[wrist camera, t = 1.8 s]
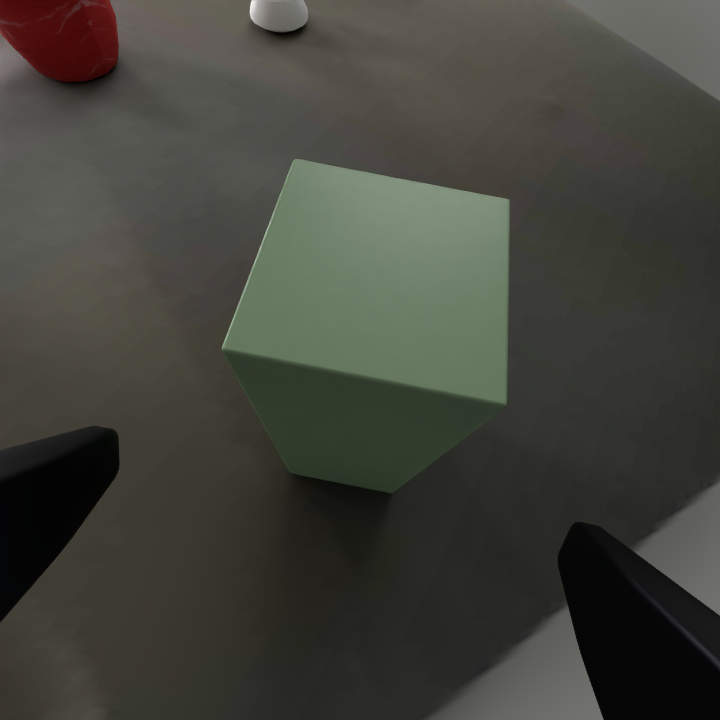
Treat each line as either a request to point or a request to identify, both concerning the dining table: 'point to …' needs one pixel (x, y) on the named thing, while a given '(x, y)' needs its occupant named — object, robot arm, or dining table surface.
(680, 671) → the robot arm
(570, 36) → the dining table surface
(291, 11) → the white jar
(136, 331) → the dining table surface
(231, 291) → the dining table surface
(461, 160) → the dining table surface
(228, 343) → the block
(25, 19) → the water bottle
